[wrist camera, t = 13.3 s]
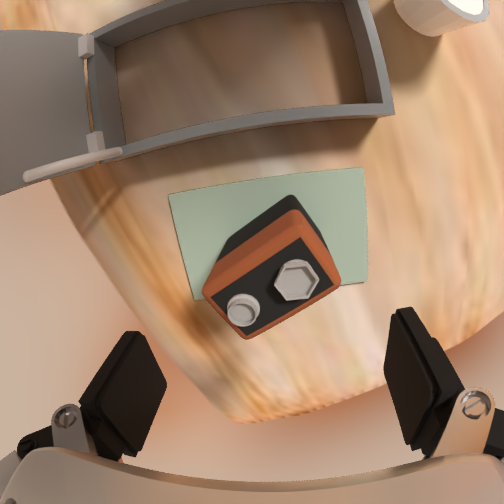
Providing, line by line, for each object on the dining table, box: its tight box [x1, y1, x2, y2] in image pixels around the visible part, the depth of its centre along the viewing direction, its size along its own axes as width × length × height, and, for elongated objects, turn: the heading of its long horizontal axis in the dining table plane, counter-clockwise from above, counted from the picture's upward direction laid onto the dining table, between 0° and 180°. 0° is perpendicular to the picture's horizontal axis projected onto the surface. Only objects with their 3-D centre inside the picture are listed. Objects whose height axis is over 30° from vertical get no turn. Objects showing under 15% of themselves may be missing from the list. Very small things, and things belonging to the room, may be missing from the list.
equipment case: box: [23, 0, 395, 182], centre depth 14 cm, size 23×12×11 cm, turn 99°
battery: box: [202, 195, 341, 340], centre depth 19 cm, size 4×7×10 cm, turn 128°
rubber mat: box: [168, 167, 368, 300], centre depth 24 cm, size 16×10×1 cm, turn 99°
